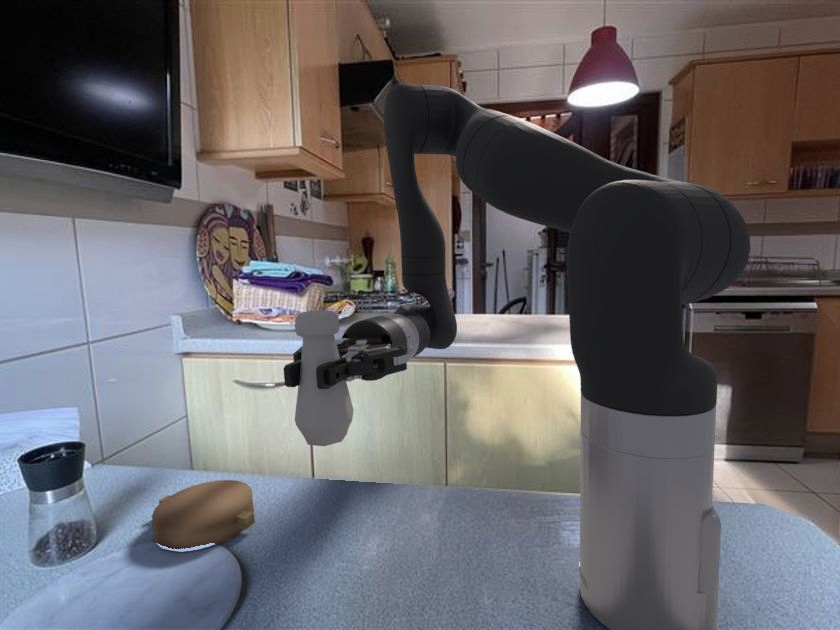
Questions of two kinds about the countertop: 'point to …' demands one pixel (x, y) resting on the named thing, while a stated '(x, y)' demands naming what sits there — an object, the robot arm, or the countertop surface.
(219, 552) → the countertop surface
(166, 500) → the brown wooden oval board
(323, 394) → the salt shaker
